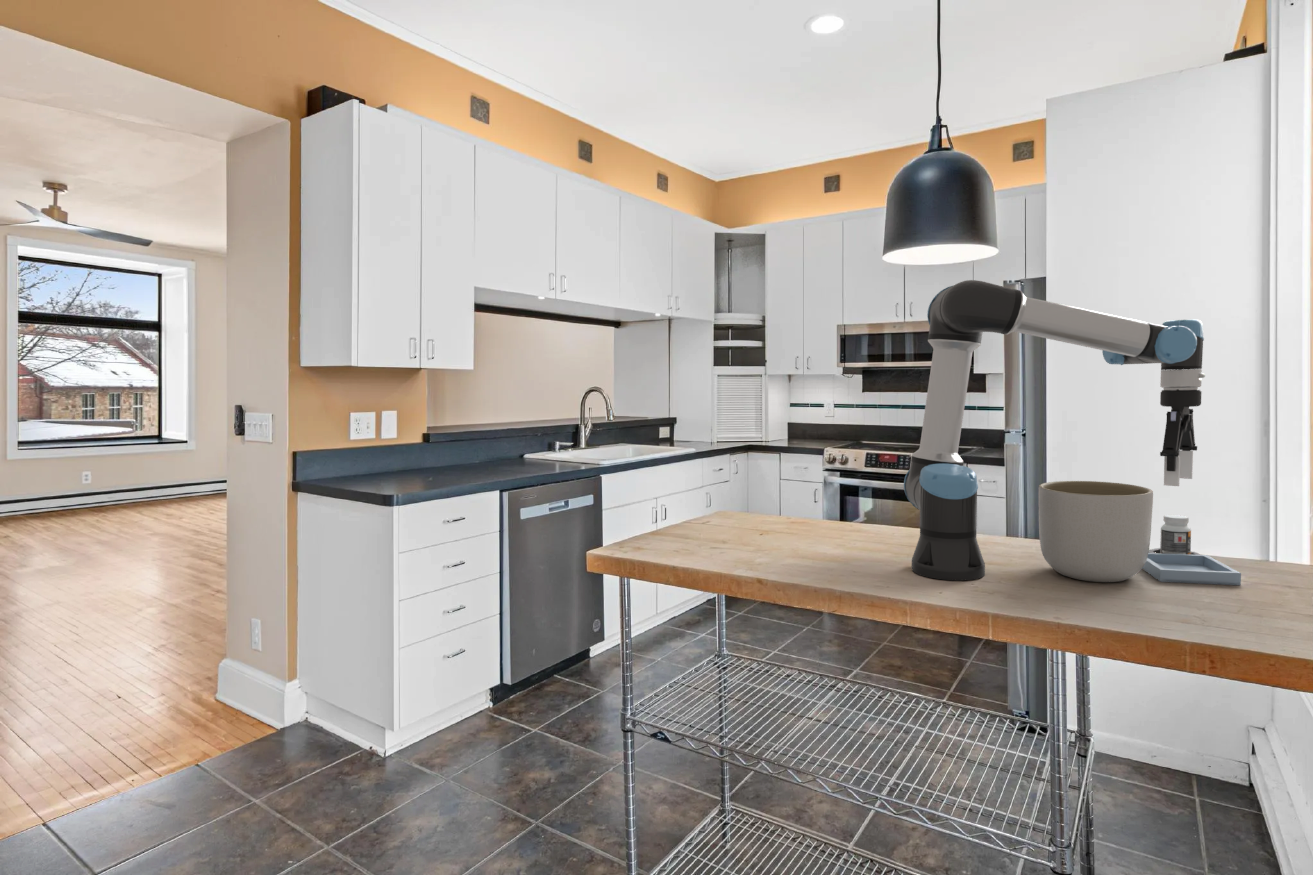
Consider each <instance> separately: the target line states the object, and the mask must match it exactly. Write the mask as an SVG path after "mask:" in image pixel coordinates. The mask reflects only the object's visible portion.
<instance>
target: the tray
mask: <svg viewBox="0 0 1313 875" xmlns="http://www.w3.org/2000/svg"><path fill="white" fill-rule="evenodd" d="M1143 569H1144V570H1143ZM1141 570H1143V571H1145V572H1146V573H1147V572H1148V573H1147V574H1149V575H1150V574H1151V575H1150V576H1152V577H1153V578H1154V579H1156V580H1157V579H1158V580H1157V581H1159V582H1162V583H1181V584H1182V583H1184V584H1202V585H1204V584H1205V585H1225V586H1242V585H1241V584H1242V573H1241V572H1239V571H1238V570H1236V569H1234V568H1232V567H1231V566H1228V565H1227V564H1225V563H1223V562H1221V561H1220V560H1217V559H1215V558H1213V557H1211V556H1210V555H1208V554H1200V555H1191V554H1164V553H1148V557H1147V560H1146V563H1145V565H1144V567H1143V568H1142V569H1141Z"/></svg>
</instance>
